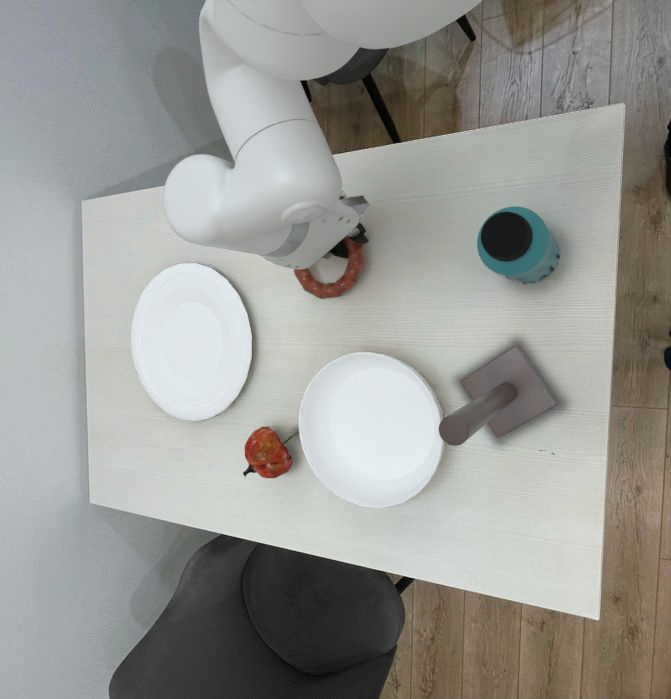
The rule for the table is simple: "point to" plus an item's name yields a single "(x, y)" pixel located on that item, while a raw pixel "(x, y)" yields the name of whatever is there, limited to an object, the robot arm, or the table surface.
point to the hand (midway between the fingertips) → (352, 240)
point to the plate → (191, 341)
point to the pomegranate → (267, 454)
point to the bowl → (371, 429)
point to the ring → (343, 282)
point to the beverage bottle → (518, 245)
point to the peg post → (498, 398)
